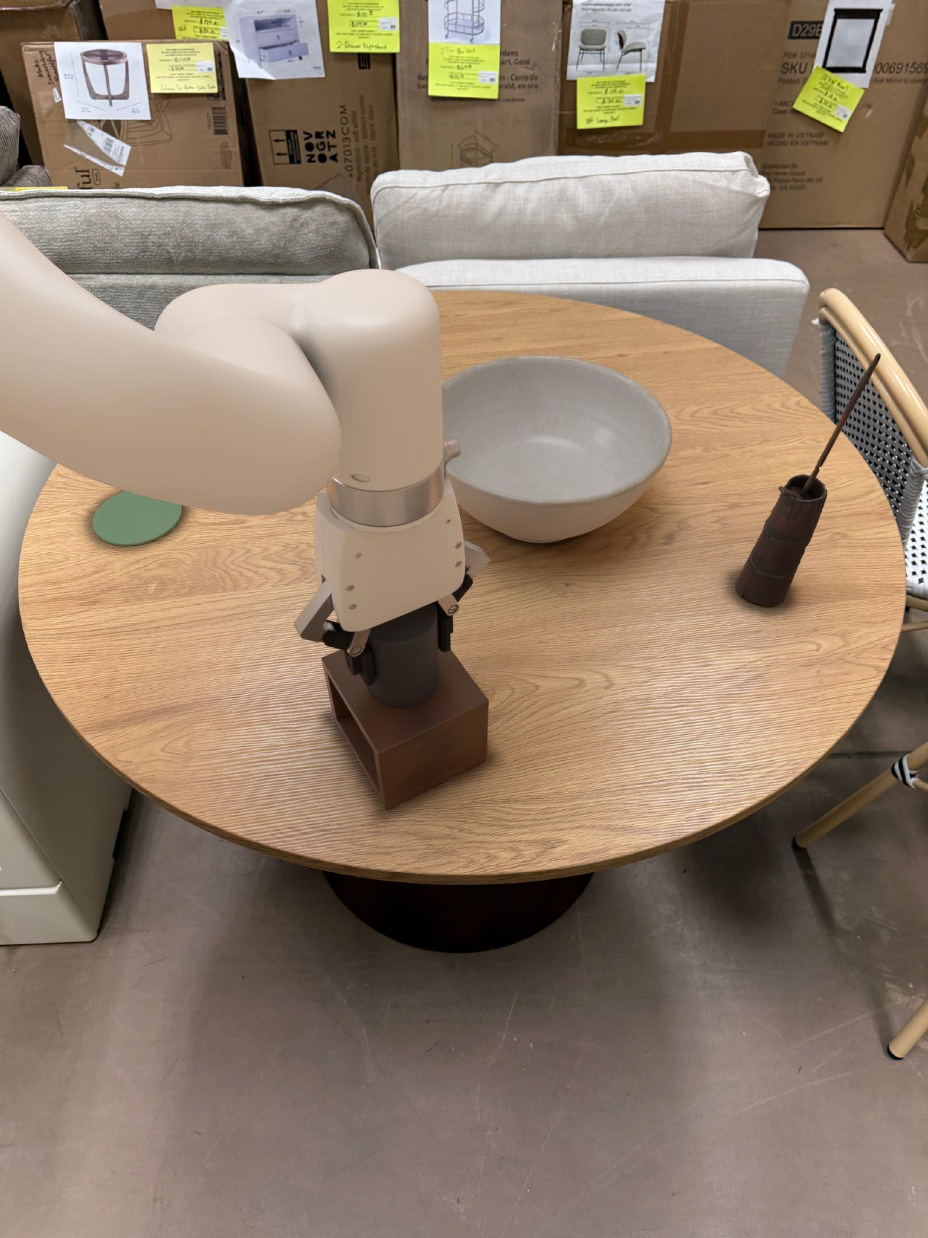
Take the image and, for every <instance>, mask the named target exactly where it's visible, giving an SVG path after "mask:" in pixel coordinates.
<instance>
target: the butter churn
mask: <svg viewBox="0 0 928 1238" xmlns="http://www.w3.org/2000/svg"><path fill="white" fill-rule="evenodd" d="M881 357H882V354H881V353H880V352H877V353H876V354H875V356H874V358H873V359H872V361H871V362H870V363H869V365H868V367H867V369H866V370H865V372H864V373H863V375H862V377H861V379H860V380H859V381H858V384H857V386H856V387H855V390H854V392H853V394H852V395H851V398H850V399H849V401H848V403H847V405H846V407H845V409H844V411H843V413H842V415H841V417H840V419H839V421H838V422H837V425H836V426H835V428H834V431H833V432H832V434H831V435H830V438H829V439H828V441H827V443H826V445H825V447H824V449H823V451H822V453H821V455H820V457H818V460H817V463H816V465H815V466H814V469H813V470H812V471H811V473H810V475H809V474H805V473H801V474H797V475H794V476H792V477H790V478H789V480H787V482H786V484H785V485H784V486H783V485H780V486H778V487H777V489H778V491H779V492H780V493H779V497H778V499H777V501H776V502H775V504H774V506H773V507H772V509H771V512H770V514H769V516H768V517H767V518H766V520H765V521H764V524H763V528H762V530H761V532H760V534H759V536H758V538H757V541H756V542H755V544H754V546H753V548H752V549H751V550H750V552H749V556H748V557H747V559H746V561H745V563H744V565H743V567H742V569H741V570H740V573H739V574H738V576H737V577H736V578H735V583H734V584H735V590H736V593H737V594H738V596H739V598H743V599H745V600H746V601H748V602H750V603H752V604H756V605H758V606H760V607H763V608H774V607H777V606H779V605H781V604H782V603H783V602H784V601H785V598H786V596H787V595H788V592H789V590H790V588H791V585H792V583H793V580H794V578H795V575H796V573H797V572H798V568H799V566H800V565H801V561H802V559H803V556H804V555H805V553H806V548H807V547H808V546H809V544H810V543H811V541H812V539H813V537H814V533H815V530H816V528H817V526H818V523H819V521H820V518H821V514H822V513H823V509H824V507H825V503H826V501H827V498H828V489H827V488H826V484H825V483H823V482H822V480H820V479H819V477H817V476H818V475H819V474H820V471H821V469H820V468H821V467H823V466H824V464H825V462H826V460H827V458H828V456H829V455H830V452H831V451H832V449H833V447H834V445H835V444H836V441H837V439H838V438H839V435H840V434H841V432H842V430H843V428H844V426H845V425H846V422H847V421H848V419H849V417H850V416H851V414H852V411H853V410H854V408H855V406H856V404H857V402H858V400H859V399H860V397H861V396H862V394H863V392H864V390H865V388H866V386H867V384H868V383H869V381H870V379H871V377H872V375H873V373H874V372H875V369H876V367H877V366H878V364H879V363H880V361H881Z"/></svg>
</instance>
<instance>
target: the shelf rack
mask: <svg viewBox="0 0 928 1238" xmlns="http://www.w3.org/2000/svg"><path fill="white" fill-rule="evenodd" d="M438 654H439V684H438V687H437V689H436V691H435V692H434V694H433V695H432V696H431V697H430V698H429V699H427V700H426V701H425V702H423V703H421V704H419V705H416V706H413V707H408V708H395V707H390V706H387V705H384V704H382V703H381V702H379V701H378V700H376V699H375V698H374V697H373V696H372V694H371V693H370V691H369V689H368V687H367V686H366V684H365V682H364V681H363V679H362V678H361V676H360V674H357V675H355V676H353V675H352V674H351V672H350V670H349V669H348V667H347V664H346V661H345V655H344V650H340V649H338V650H336V651H334V652H331V653H329V654H327V655H325V656H322V657H321V658H320V660H321V664H322V669H323V674H324V680H325V684H326V689H327V695H328V699H329V703H330V709H331V713H332V719H333V721H334V722H335V724H336V726H337V727H338V729H339V731H340V733H341V734H342V736H343V738H344V739H345V741H346V743H347V745H348V747H349V748H350V750H351V752H352V754H353V755H354V757H355V759H356V761H357V762H358V764H359V765H360V768H361V769H362V771H363V774H364V775H365V776H366V778H367V780H368V781H369V783H370V785H371V787H372V788H373V790H374V792H375V794H376V795H377V797H378V799H379V801H380V803H381V804H382V806H383V807H384V809H385V811H389V810H391V809H394V808H395V807H397V806H399V805H401V804H403V803H405V802H406V801H409V800H410V799H412V798H415V797H417V796H418V795H420V794H423V793H424V792H427V791H429V790H431V789H432V788H435V787H436V786H438V785H440V784H443V783H444V782H446V781H448V780H450V779H452V778H454V777H456V776H458V775H460V774H462V773H464V772H466V771H468V770H470V769H472V768H474V767H476V766H478V765H480V764H482V763H484V762H486V761H487V758H488V757H487V756H488V755H487V754H488V738H489V737H488V734H489V709H490V708H489V707H490V706H489V705H490V700H489V699H488V697H487V696H486V695H485V694H484V692H483V690H482V689H481V688H480V687H479V685H478V684H477V683H476V681H475V679H474V678H473V677H472V676H471V674H470V673H469V671H467V668H465V666H464V665H463V664H462V663H461V661H460V660H459V658H458V657H457V656H456V654H455V652H454V651H453V650H452V649H451V650H450V651H447V652H445V653H444V652H441V651H440V649H439V648H438Z"/></svg>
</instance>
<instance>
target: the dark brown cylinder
mask: <svg viewBox="0 0 928 1238" xmlns="http://www.w3.org/2000/svg"><path fill="white" fill-rule="evenodd" d="M366 644H367V646H368V647H369V649H370V651H371V653H372V658H373V666H374V674H375V682H374V684H373V685H371V686H369V687H368V689H369V691H370V693H371V694H372V696H373V697H374V698H375V699H376V700H378V701H379V702H381V703H382V704H384V705H387V706H390V707H395V708H408V707H413V706H416V705H419V704H421V703H423V702H425V701H426V700H427V699H429V698H430V697H431V696H432V695H433V694H434V692H435V691H436V689H437V687H438V684H439V654H438V625H437V609H436V606H435V603H434V602H432V603H430V604H428V605H425V606H423V607H421V608H418V609H416V610H414V611H411V612H409V613H406V614H404V615H402V616H399V617H397V618H394V619H392V620H389V621H387V622H384V623H382V624H379V625H377V626H374V627H372V628H371V630H370V633H369V636H368V639H367V642H366Z"/></svg>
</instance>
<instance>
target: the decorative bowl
mask: <svg viewBox="0 0 928 1238" xmlns="http://www.w3.org/2000/svg"><path fill="white" fill-rule="evenodd" d="M442 414H443V438H444V439H447V438H450V437H455V438H456V440H457V441H458V443H459V446H460V455H459V456H458V457H455V458H452V459H451V461H449V462H448V463H447V465H446V475H447V476H448V478H449V479H450V482H451V484H452V488H453V491H454V494H455V498H456V501H457V505H458V506H459V507H461V508H462V510H463V511H465V512H466V513H467V514H468V515H470V516H471V517H472V518H474V519H475V520H477V521H478V522H480V523H481V524H483V525H485V526H487V527H489V528H491V529H493V530H495V531H497V532H500V533H502V534H504V535H506V536H508V537H510V538H512V539H515V540H518V541H522V542H526V543H532V544H533V543H535V544H547V543H555V542H559V541H563V540H566V539H569V538H574V537H577V536H582V535H584V534H587V533H589V532H592V531H594V530H597V529H599V528H601V527H602V526H605V525H606V524H608V523H610V522H611V521H613V520H615V519H617V517H619V516H620V515H622V514H623V513H624V512H626V511H627V510H628V509H629V508H630V507H631V506H632V505H634V504H635V503H636V502H637V501H638V500H639V499H640V498H641V497H642V495H643V494H644V493H645V492H646V491H647V489H648V488H649V487H650V486H651V485H652V483H653V482H654V480H655V479H656V477H657V476H658V474H659V473H660V471H661V470H662V469H663V467H664V464H665V463H666V461H667V458H668V456H669V454H670V452H671V448H672V444H673V443H672V442H673V429H672V423H671V421H670V417H669V415H668V413H667V411H666V409H665V408H664V406H663V404H662V403H661V402H660V400H658V398H657V397H656V396H655V395H654V394H653V393H652V392H651V391H650V390H648V389H647V387H645V386H643V385H642V384H641V383H639V382H638V381H637V380H635V379H633V378H631V377H630V376H628V375H626V374H624V373H622V372H620V371H618V370H615V369H613V368H610V367H608V366H605V365H602V364H599V363H596V362H592V361H588V360H584V359H579V358H574V357H568V356H562V355H561V356H559V355H544V354H531V355H527V354H526V355H515V356H507V357H501V358H495V359H492V360H488V361H484V362H481V363H478V364H475V365H472V366H470V367H467V368H465V369H463V370H460V371H459V372H457V373H455V374H453V375H452V376H450V377H449V378H447V379H446V380H445V381H442Z"/></svg>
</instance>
